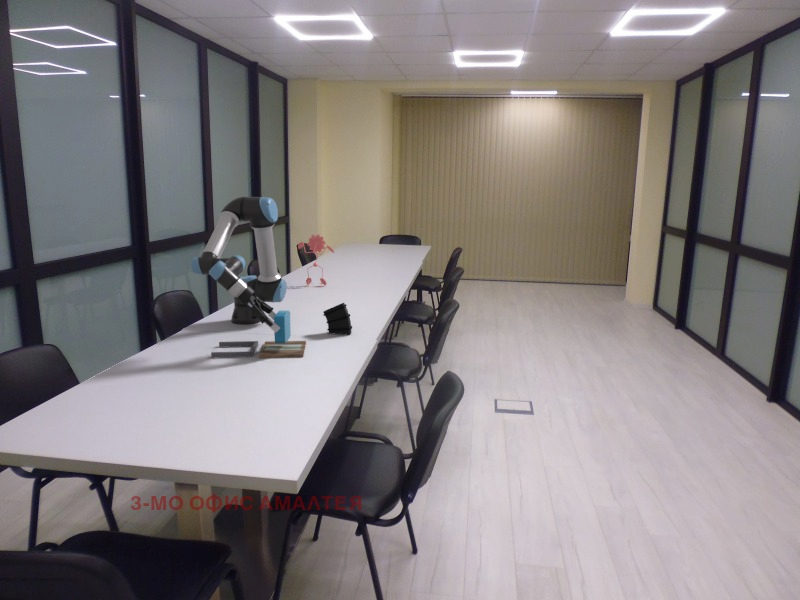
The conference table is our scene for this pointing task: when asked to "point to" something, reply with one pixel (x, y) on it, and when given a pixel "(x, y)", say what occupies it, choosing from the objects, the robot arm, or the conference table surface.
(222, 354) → the grey u-shaped frame
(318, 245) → the figurine
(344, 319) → the magazine
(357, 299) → the conference table surface
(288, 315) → the data package
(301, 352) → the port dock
